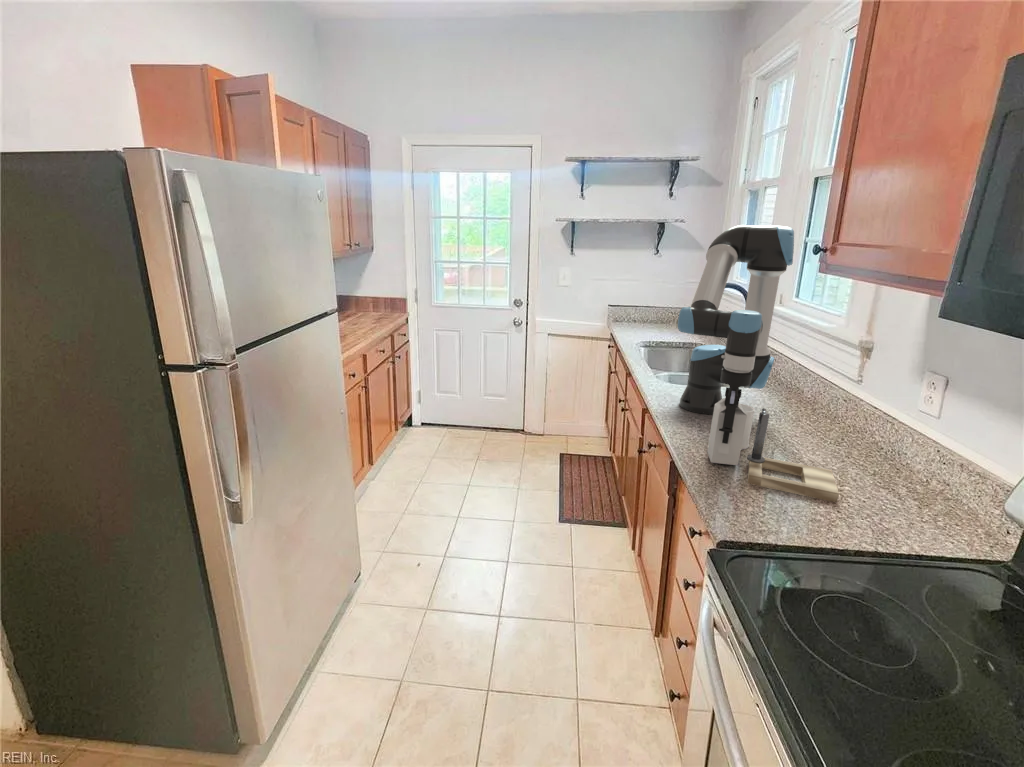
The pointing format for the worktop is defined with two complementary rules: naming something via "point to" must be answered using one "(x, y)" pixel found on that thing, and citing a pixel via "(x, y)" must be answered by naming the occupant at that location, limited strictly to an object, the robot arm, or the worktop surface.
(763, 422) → the metal door lever handle
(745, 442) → the mug
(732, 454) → the milk carton
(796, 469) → the tan flat frame
